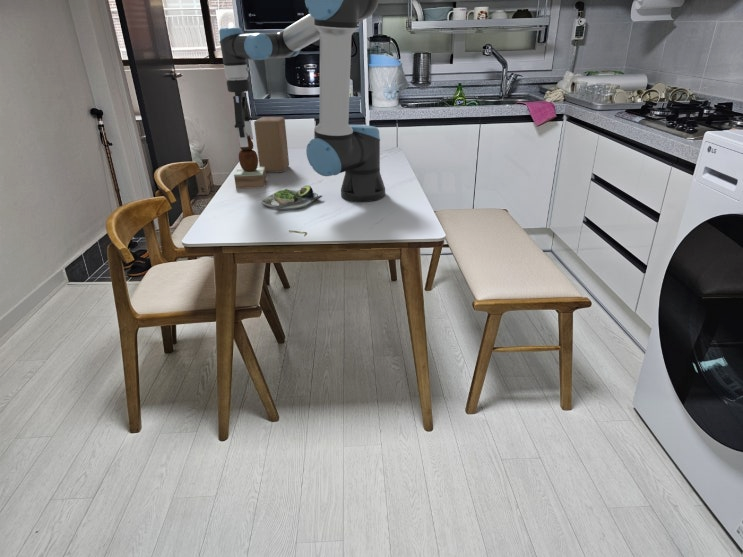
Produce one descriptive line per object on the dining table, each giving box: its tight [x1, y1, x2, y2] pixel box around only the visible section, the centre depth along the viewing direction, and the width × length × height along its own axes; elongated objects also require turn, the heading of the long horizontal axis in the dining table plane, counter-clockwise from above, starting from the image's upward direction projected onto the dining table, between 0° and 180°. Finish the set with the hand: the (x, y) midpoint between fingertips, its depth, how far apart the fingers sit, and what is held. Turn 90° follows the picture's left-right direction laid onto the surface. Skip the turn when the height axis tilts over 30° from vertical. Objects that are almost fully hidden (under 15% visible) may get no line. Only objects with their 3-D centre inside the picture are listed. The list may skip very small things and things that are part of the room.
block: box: [253, 116, 290, 173], centre depth 194 cm, size 10×10×20 cm
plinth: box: [233, 166, 267, 189], centre depth 179 cm, size 10×10×5 cm
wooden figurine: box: [238, 135, 259, 172], centre depth 174 cm, size 7×6×15 cm
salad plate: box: [261, 185, 323, 211], centre depth 158 cm, size 19×18×5 cm
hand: (246, 143), depth 173 cm, fingers open, 13 cm apart
